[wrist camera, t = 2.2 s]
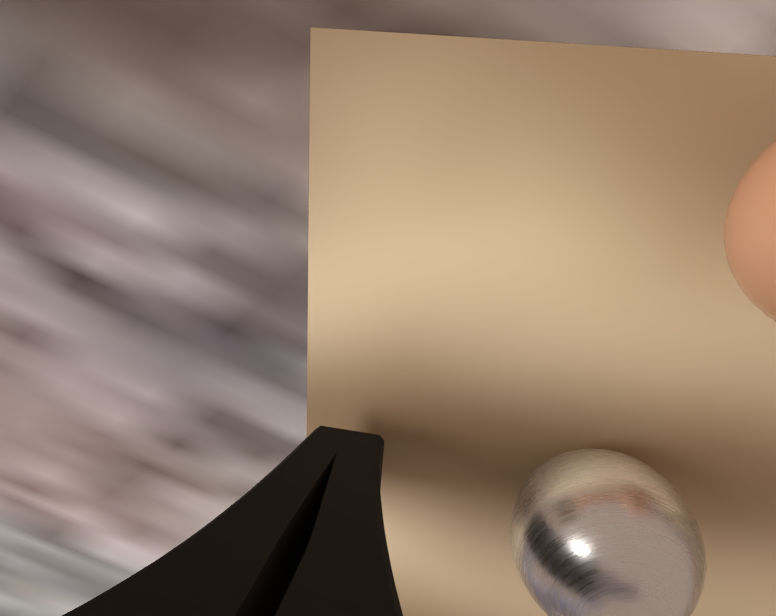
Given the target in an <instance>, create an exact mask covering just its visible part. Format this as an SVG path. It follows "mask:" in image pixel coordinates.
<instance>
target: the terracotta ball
mask: <svg viewBox="0 0 776 616" xmlns="http://www.w3.org/2000/svg"><path fill="white" fill-rule="evenodd" d="M723 232H724V247H725V252H726V258H727V262H728V265H729V268H730V270H731V273H732V275H733V277H734V278H735V280H736V282H737V284H738V285H739V287H740V288H741V290H742V291H743V293H744V294H745V295H746V296H747V298H748V299H749V300H750V301H751V302H752V303H753V304H754V305H755V306H756V307H757V308H759V309H760V310H761V311H762V312H763V313H764V314H765V315H766V316H768V317H769V318H771V319H773V320H774V321H776V140H775V141H774V142H773V143H772V144H771V145H769V146H768V147H767V148H766V149H765V150H764V151H763V152H762V153H761V154H760V155H759V156H758V157H757V158H756V159H755V161H754V162H753V163H752V164H751V165H750V167H749V168H748V169H747V171H746V172H745V174H744V175H743V176H742V178H741V180H740V181H739V183H738V185H737V187H736V188H735V190H734V192H733V195H732V197H731V200H730V202H729V205H728V209H727V212H726V216H725V222H724V231H723Z"/></svg>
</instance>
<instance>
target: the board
mask: <svg viewBox="0 0 776 616" xmlns="http://www.w3.org/2000/svg"><path fill="white" fill-rule="evenodd" d="M775 140H776V56H762V55H746V54H730V53H714V52H698V51H682V50H666V49H650V48H634V47H618V46H602V45H586V44H570V43H554V42H537V41H521V40H505V39H489V38H473V37H457V36H441V35H425V34H409V33H393V32H377V31H361V30H345V29H329V28H313V27H311V30H310V141H309V251H308V362H307V437H308V436H309V435H310V434H311V433H312V432H313V431H314V430H315V429H316V428H318V427H319V426H327V427H333V428H339V429H346V430H352V431H358V432H364V433H371V434H377V435H380V436H381V437H382V438H383V440H384V453H383V465H382V477H381V489H380V492H381V503H382V512H383V522H384V528H385V535H386V541H387V547H388V552H389V558H390V563H391V568H392V572H393V577H394V581H395V586H396V590H397V594H398V598H399V602H400V606H401V610H402V614H403V616H548V615H547V614H546V613H545V612H544V611H543V610H542V609H541V608H540V607H539V606H538V604H537V603H536V602H535V601H534V599H533V598H532V596H531V595H530V594H529V592H528V590H527V589H526V587H525V585H524V583H523V581H522V579H521V577H520V575H519V573H518V570H517V568H516V565H515V562H514V558H513V554H512V548H511V542H510V522H511V515H512V510H513V506H514V503H515V500H516V498H517V495H518V493H519V491H520V489H521V487H522V486H523V484H524V483H525V482H526V480H527V479H528V477H529V476H530V475H531V474H532V473H533V472H534V471H535V470H536V469H537V468H538V467H540V466H541V465H542V464H543V463H545V462H546V461H548V460H550V459H551V458H553V457H555V456H557V455H560V454H562V453H565V452H569V451H573V450H578V449H606V450H610V451H615V452H619V453H623V454H626V455H629V456H631V457H633V458H635V459H638V460H640V461H641V462H643V463H645V464H647V465H648V466H650V467H652V468H653V469H655V470H656V471H657V472H658V473H660V474H661V475H662V476H663V477H665V478H666V479H667V480H668V481H669V482H670V483H671V484H672V485H673V486H674V487H675V488H676V489H677V491H678V492H679V493H680V494H681V495H682V497H683V498H684V500H685V501H686V502H687V504H688V506H689V507H690V509H691V510H692V512H693V514H694V516H695V518H696V521H697V523H698V525H699V528H700V530H701V534H702V538H703V542H704V546H705V551H706V576H705V583H704V588H703V591H702V594H701V597H700V599H699V602H698V604H697V606H696V608H695V610H694V611H693V613H692V614H691V615H690V616H776V321H774V320H773V319H771V318H769V317H768V316H766V315H765V314H764V313H763V312H762V311H761V310H760V309H759V308H757V307H756V306H755V305H754V304H753V303H752V302H751V301H750V300H749V299H748V298H747V296H746V295H745V294H744V293H743V291H742V290H741V288H740V287H739V285H738V284H737V282H736V280H735V278H734V277H733V275H732V273H731V270H730V268H729V265H728V262H727V258H726V252H725V247H724V232H723V231H724V222H725V216H726V212H727V209H728V205H729V202H730V200H731V197H732V195H733V192H734V190H735V188H736V187H737V185H738V183H739V181H740V180H741V178H742V176H743V175H744V174H745V172H746V171H747V169H748V168H749V167H750V165H751V164H752V163H753V162H754V161H755V159H756V158H757V157H758V156H759V155H760V154H761V153H762V152H763V151H764V150H765V149H766V148H767V147H768V146H769V145H771V144H772V143H773V142H774V141H775Z"/></svg>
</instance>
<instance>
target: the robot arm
mask: <svg viewBox="0 0 776 616" xmlns="http://www.w3.org/2000/svg"><path fill="white" fill-rule="evenodd" d="M383 453H384V440H383V438H382V437H381V436H380V435H377V434H371V433H364V432H358V431H352V430H346V429H339V428H333V427H327V426H319V427H318V428H316V429H315V430H314V431H313V432H312V433H311V434H310V435H309V436H308V437H307V438H306V439H305V440H304V441H303V442H302V443H301V444H300V445H299V446H298V447H297V448H296V449H295V450H294V451H293V452H292V453H291V454H289V455H288V456H287V457H286V458H285V459H284V460H283V461H282V462H281V463H280V464H279V465H278V466H277V467H276V468H274V469H273V470H272V471H271V472H270V473H269V474H268V475H267V476H265V477H264V478H263V479H262V480H261V481H260V482H259V483H258V484H256V485H255V486H254V487H253V488H252V489H251V490H250V491H248V492H247V493H246V494H245V495H244V496H243V497H241V498H240V499H239V500H238V501H236V502H235V503H234V504H233V505H231V506H230V507H229V508H228V509H226V510H225V511H224V512H223V513H221V514H220V515H219V516H218V517H216V518H215V519H214V520H213V521H211V522H210V523H209V524H207V525H206V526H205V527H203V528H202V529H201V530H199V531H198V532H197V533H195V534H194V535H192V536H191V537H190V538H188V539H187V540H185V541H184V542H183V543H181V544H180V545H178V546H177V547H175V548H174V549H172V550H171V551H169V552H168V553H167V554H165V555H164V556H162V557H161V558H159V559H158V560H156V561H155V562H153V563H151V564H150V565H148V566H147V567H145V568H143V569H142V570H140V571H139V572H137V573H135V574H134V575H132V576H131V577H129V578H127V579H126V580H124V581H122V582H121V583H119V584H117V585H116V586H114V587H112V588H111V589H109V590H107V591H105V592H104V593H102V594H100V595H99V596H97V597H95V598H94V599H92V600H90V601H88V602H87V603H85V604H83V605H81V606H79V607H77V608H76V609H74V610H72V611H70V612H68V613H66V614H64V615H62V616H403V614H402V610H401V606H400V602H399V598H398V594H397V590H396V586H395V581H394V577H393V572H392V568H391V563H390V558H389V552H388V547H387V541H386V535H385V528H384V522H383V512H382V503H381V492H380V489H381V477H382V465H383Z"/></svg>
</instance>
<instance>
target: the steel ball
mask: <svg viewBox="0 0 776 616" xmlns="http://www.w3.org/2000/svg"><path fill="white" fill-rule="evenodd" d="M510 542H511V548H512V554H513V558H514V562H515V565H516V568H517V570H518V573H519V575H520V577H521V579H522V581H523V583H524V585H525V587H526V589H527V590H528V592H529V594H530V595H531V596H532V598H533V599H534V601H535V602H536V603H537V604H538V606H539V607H540V608H541V609H542V610H543V611H544V612H545V613H546V614H547V615H548V616H690V615H691V614H692V613H693V611H694V610H695V608H696V606H697V604H698V602H699V599H700V597H701V594H702V591H703V588H704V583H705V576H706V551H705V546H704V542H703V538H702V534H701V530H700V528H699V525H698V523H697V521H696V518H695V516H694V514H693V512H692V510H691V509H690V507H689V506H688V504H687V502H686V501H685V500H684V498H683V497H682V495H681V494H680V493H679V492H678V491H677V489H676V488H675V487H674V486H673V485H672V484H671V483H670V482H669V481H668V480H667V479H666V478H665V477H663V476H662V475H661V474H660V473H658V472H657V471H656V470H655V469H653V468H652V467H650V466H648V465H647V464H645V463H643V462H641V461H640V460H638V459H635V458H633V457H631V456H629V455H626V454H623V453H619V452H615V451H610V450H606V449H578V450H573V451H569V452H565V453H562V454H560V455H557V456H555V457H553V458H551V459H550V460H548V461H546V462H545V463H543V464H542V465H541V466H540V467H538V468H537V469H536V470H535V471H534V472H533V473H532V474H531V475H530V476H529V477H528V479H527V480H526V482H525V483H524V484H523V486H522V487H521V489H520V491H519V493H518V495H517V498H516V500H515V503H514V506H513V510H512V515H511V522H510Z"/></svg>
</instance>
